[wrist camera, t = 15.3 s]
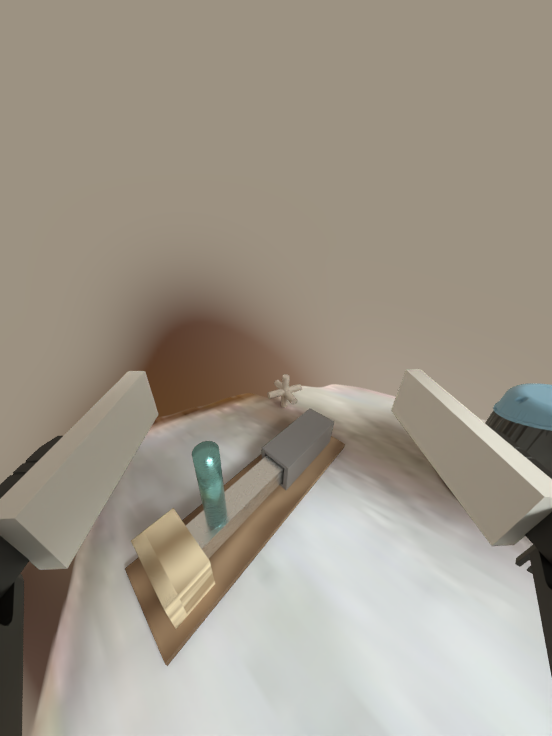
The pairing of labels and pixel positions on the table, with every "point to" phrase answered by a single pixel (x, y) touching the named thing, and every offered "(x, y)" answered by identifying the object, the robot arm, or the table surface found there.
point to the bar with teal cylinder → (227, 496)
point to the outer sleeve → (299, 444)
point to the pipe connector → (285, 391)
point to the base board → (227, 554)
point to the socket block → (174, 565)
